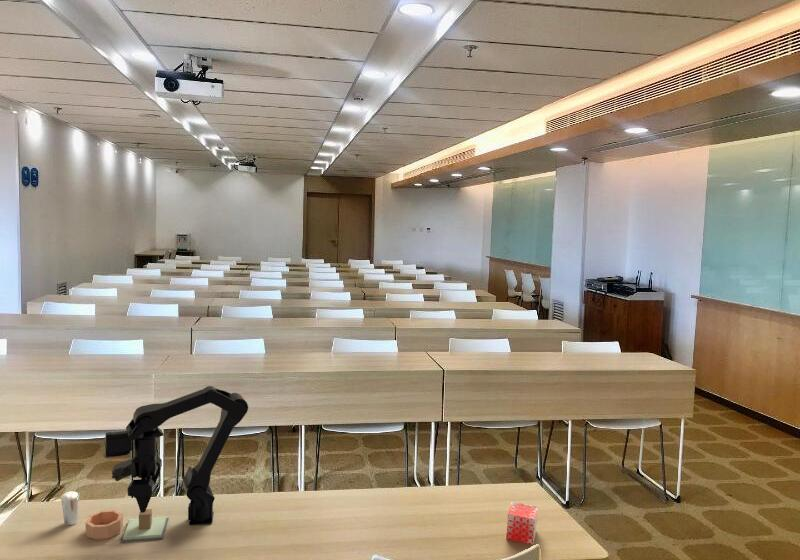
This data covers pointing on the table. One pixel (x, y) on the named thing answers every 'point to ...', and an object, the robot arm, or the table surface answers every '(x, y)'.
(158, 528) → the cover board
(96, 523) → the bowl
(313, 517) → the table surface
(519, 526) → the puzzle cube
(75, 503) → the milkshake
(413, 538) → the table surface
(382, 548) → the table surface
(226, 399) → the robot arm
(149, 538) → the mat
